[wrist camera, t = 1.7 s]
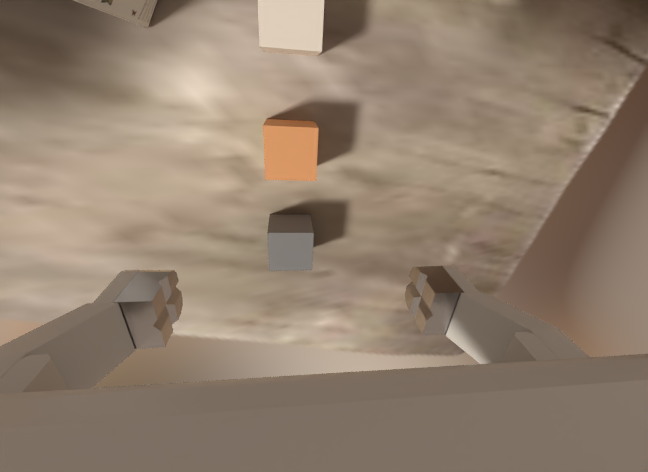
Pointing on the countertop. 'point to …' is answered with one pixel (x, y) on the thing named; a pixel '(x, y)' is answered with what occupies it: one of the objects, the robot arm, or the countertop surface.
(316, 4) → the offwhite cube
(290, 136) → the terracotta cube
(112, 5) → the supplement box
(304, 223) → the charcoal cube
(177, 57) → the countertop surface
